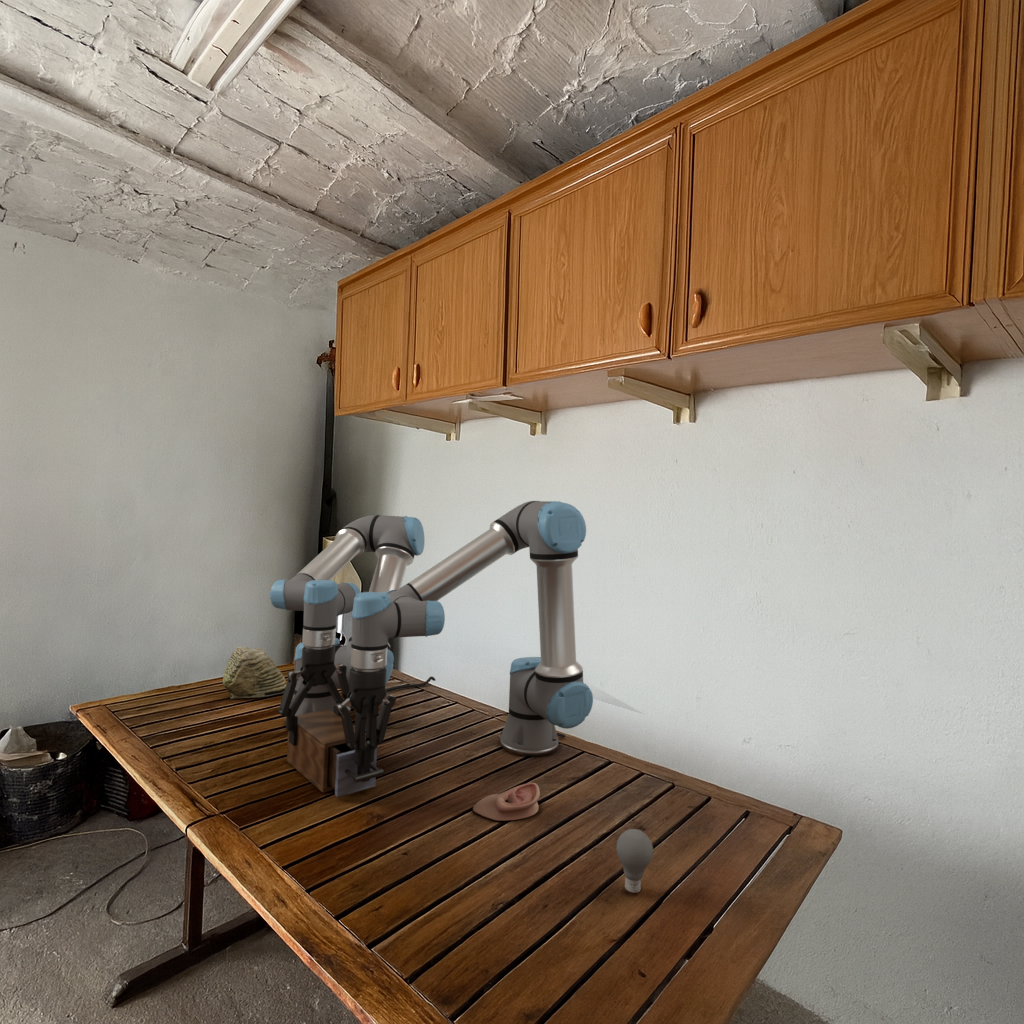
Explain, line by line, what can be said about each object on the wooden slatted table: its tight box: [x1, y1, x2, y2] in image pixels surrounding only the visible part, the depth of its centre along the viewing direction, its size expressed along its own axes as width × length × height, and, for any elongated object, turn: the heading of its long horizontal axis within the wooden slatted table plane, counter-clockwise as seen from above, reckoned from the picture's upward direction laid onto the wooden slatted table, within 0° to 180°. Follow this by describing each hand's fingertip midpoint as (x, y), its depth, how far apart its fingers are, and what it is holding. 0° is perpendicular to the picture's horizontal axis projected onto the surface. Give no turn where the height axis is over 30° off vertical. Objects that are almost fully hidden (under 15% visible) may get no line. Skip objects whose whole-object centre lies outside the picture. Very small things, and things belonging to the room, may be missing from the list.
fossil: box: [222, 646, 287, 699], centre depth 198 cm, size 9×18×15 cm, turn 132°
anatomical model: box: [472, 782, 541, 822], centre depth 132 cm, size 13×4×12 cm
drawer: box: [327, 743, 385, 798], centre depth 140 cm, size 24×9×9 cm, turn 41°
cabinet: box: [286, 709, 366, 793], centre depth 146 cm, size 20×10×11 cm, turn 41°
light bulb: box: [615, 828, 654, 894], centre depth 106 cm, size 6×6×10 cm
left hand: (315, 738), depth 151 cm, fingers closed on cabinet, 10 cm apart
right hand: (363, 778), depth 133 cm, fingers closed
